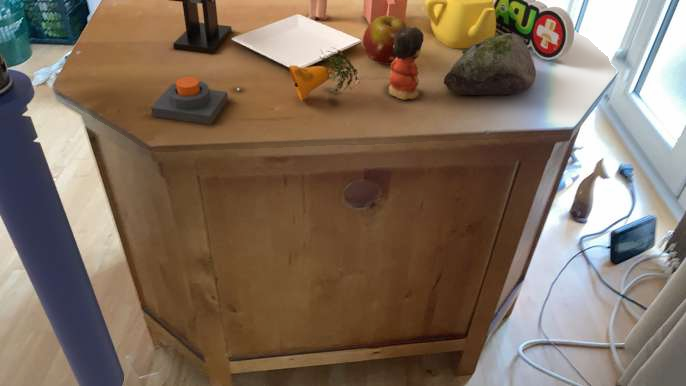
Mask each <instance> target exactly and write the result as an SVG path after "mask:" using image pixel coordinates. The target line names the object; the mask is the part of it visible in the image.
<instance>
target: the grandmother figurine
mask: <svg viewBox="0 0 686 386" xmlns="http://www.w3.org/2000/svg"><path fill="white" fill-rule="evenodd" d="M308 6H309V7H308V14H309V15H308V16H307V18H309V19H311V20H314V21H316V20H317V18H318V20H319V21H326V20H328V17H327V15H326V14H327V9H328V8H327V7H328V0H309V5H308Z"/></svg>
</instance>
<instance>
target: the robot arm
mask: <svg viewBox="0 0 686 386" xmlns="http://www.w3.org/2000/svg"><path fill="white" fill-rule="evenodd" d="M8 69H9V68H8V63H7V61H6V58H5V57H4V56H3V54H2V50H0V97H1V96H3V95H4V94H6V93H7V92H9V91H10V90H11V89H12V87H13V81H12V79H11V77H10V75H9V73H8Z"/></svg>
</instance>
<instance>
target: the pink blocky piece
mask: <svg viewBox="0 0 686 386" xmlns="http://www.w3.org/2000/svg"><path fill="white" fill-rule="evenodd" d="M407 6H408V0H363V7H362V8H363V9H362V14H363V15H364V18H365V19H366V21H367V22H368V25H369V24H370V23H371V22H372V21H373V20H375V19H376V18H378V17H381V16H392V17H395V18H398V19H400V20H402V21H403V22H404V23H405V24H406V16H407Z"/></svg>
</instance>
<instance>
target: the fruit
mask: <svg viewBox="0 0 686 386" xmlns="http://www.w3.org/2000/svg"><path fill="white" fill-rule="evenodd" d="M404 27H408V24H406V22H405V23H404V22H403V21H402V20H400V19H398V18H395V17H392V16H381V17H378V18H376V19H375V20H373V21H372V22H371V23H370V24H369V23H368V26H367V27H366V29H365V31H364V33H363V36H362V48H363V51H364V53H365V55H366V57H368V58H369V59H370V60H372V61H373V62H376V63H381V64H390V65H391V63H392V62H393V61H394V60H395V58H396V57H397V56H396V55H395V54H394V53H393V46H394V38H395V36H396V34H397V33H398V31H399V30H400V29H402V28H404Z"/></svg>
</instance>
